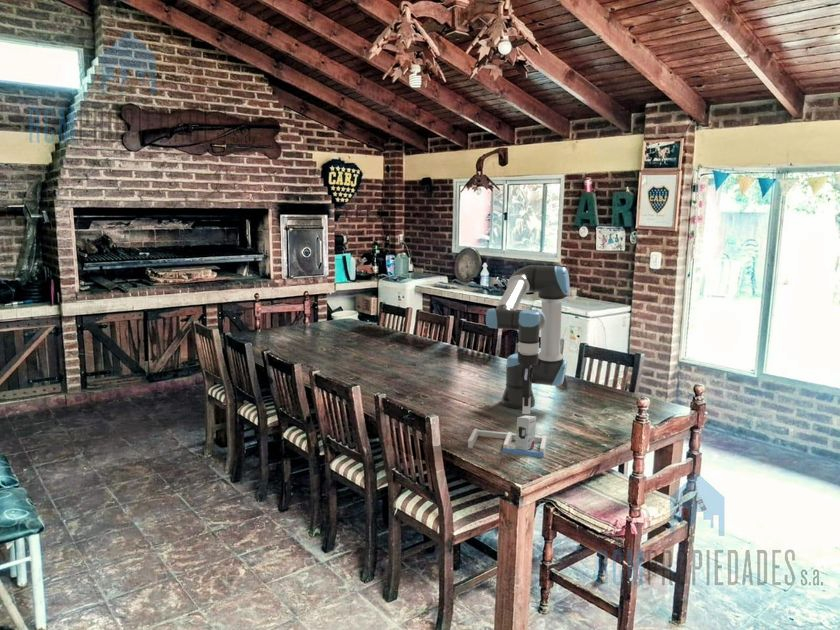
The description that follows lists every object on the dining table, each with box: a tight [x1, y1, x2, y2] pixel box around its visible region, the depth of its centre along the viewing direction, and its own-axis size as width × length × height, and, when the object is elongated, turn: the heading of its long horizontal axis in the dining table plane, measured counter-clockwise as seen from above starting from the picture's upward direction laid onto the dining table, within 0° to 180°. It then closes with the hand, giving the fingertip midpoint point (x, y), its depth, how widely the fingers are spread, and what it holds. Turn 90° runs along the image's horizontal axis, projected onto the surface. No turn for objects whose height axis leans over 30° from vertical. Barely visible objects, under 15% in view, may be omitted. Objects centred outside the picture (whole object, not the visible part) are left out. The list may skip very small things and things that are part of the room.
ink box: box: [514, 414, 537, 451], centre depth 242 cm, size 9×5×12 cm, turn 149°
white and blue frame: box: [467, 428, 548, 458], centre depth 247 cm, size 15×28×3 cm, turn 74°
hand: (526, 413), depth 241 cm, fingers closed
